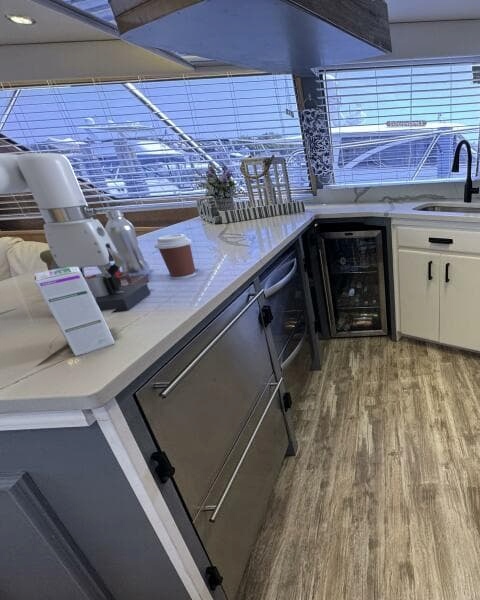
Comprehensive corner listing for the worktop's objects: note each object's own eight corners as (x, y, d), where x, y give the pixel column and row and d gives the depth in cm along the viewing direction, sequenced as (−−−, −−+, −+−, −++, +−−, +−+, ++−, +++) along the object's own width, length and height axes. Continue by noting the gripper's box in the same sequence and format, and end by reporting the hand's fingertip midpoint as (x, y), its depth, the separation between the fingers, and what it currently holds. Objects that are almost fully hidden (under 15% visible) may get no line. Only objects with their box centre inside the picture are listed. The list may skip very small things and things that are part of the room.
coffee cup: (198, 269, 104) (187, 232, 99) (203, 275, 97) (192, 236, 92) (164, 275, 98) (151, 237, 94) (168, 283, 92) (153, 241, 87)
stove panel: (57, 319, 72) (50, 306, 70) (88, 300, 81) (83, 289, 80) (128, 310, 74) (123, 298, 73) (150, 293, 84) (146, 282, 83)
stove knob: (97, 291, 78) (89, 273, 76) (118, 289, 79) (110, 271, 77) (85, 298, 74) (76, 279, 72) (107, 296, 75) (99, 276, 73)
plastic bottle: (148, 278, 97) (123, 210, 89) (121, 281, 95) (93, 212, 87) (154, 272, 102) (131, 207, 95) (129, 275, 100) (103, 209, 92)
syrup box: (116, 343, 60) (83, 269, 54) (73, 357, 56) (33, 279, 50) (110, 334, 64) (79, 264, 58) (70, 347, 60) (32, 272, 54)
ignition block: (85, 297, 84) (78, 283, 82) (105, 286, 92) (100, 272, 90) (132, 292, 86) (127, 278, 84) (148, 281, 94) (144, 268, 92)
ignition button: (102, 279, 85) (99, 273, 85) (110, 275, 89) (107, 269, 88) (117, 278, 86) (115, 271, 85) (124, 274, 89) (122, 268, 89)
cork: (48, 290, 90) (29, 252, 86) (74, 283, 95) (57, 246, 91) (63, 291, 88) (44, 253, 84) (88, 284, 94) (71, 247, 89)
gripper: (122, 210, 74) (149, 284, 82) (34, 216, 71) (71, 292, 78) (102, 215, 68) (134, 294, 75) (5, 221, 64) (48, 304, 71)
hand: (101, 292), depth 76 cm, fingers closed on stove knob, 4 cm apart
